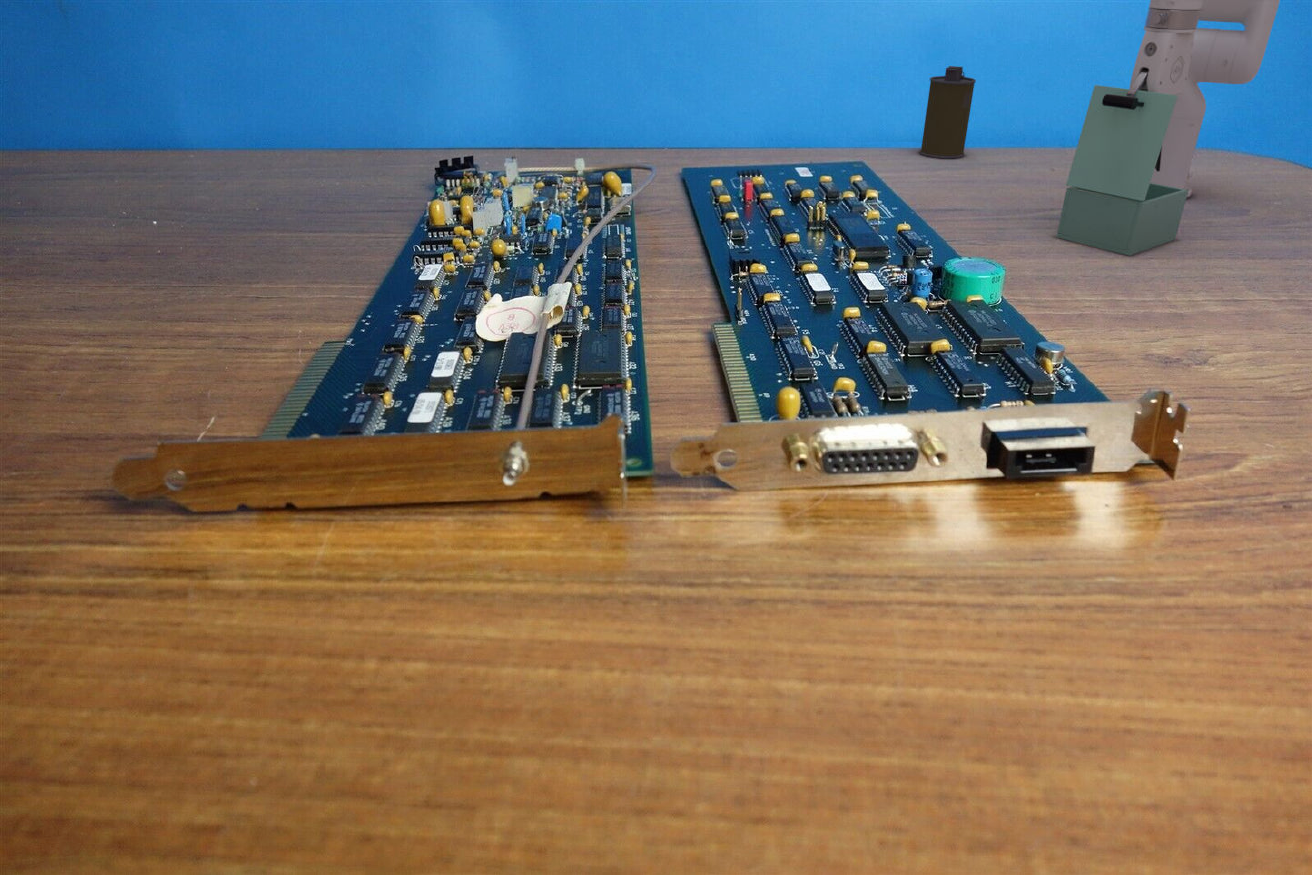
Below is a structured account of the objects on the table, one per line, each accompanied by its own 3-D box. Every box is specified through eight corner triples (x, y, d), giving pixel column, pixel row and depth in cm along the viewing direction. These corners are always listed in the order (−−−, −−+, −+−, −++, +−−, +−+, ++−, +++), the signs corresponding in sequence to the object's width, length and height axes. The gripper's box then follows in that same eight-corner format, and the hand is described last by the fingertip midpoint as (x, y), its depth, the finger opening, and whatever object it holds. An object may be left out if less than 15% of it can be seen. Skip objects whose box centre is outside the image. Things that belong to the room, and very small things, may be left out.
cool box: (1102, 223, 175) (1114, 175, 171) (1175, 240, 165) (1188, 190, 161) (1056, 237, 166) (1066, 187, 162) (1129, 256, 157) (1142, 204, 153)
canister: (956, 160, 222) (970, 71, 212) (913, 155, 227) (925, 67, 217) (969, 152, 230) (983, 66, 220) (928, 148, 235) (940, 63, 225)
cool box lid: (1096, 85, 156) (1081, 83, 153) (1178, 95, 146) (1163, 93, 143) (1068, 185, 162) (1053, 185, 159) (1144, 201, 153) (1129, 201, 150)
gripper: (1167, 25, 142) (1138, 147, 151) (1220, 20, 151) (1190, 135, 160) (1120, 22, 147) (1094, 139, 156) (1174, 17, 157) (1147, 128, 165)
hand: (1143, 136), depth 158 cm, fingers closed on speaker, 6 cm apart
